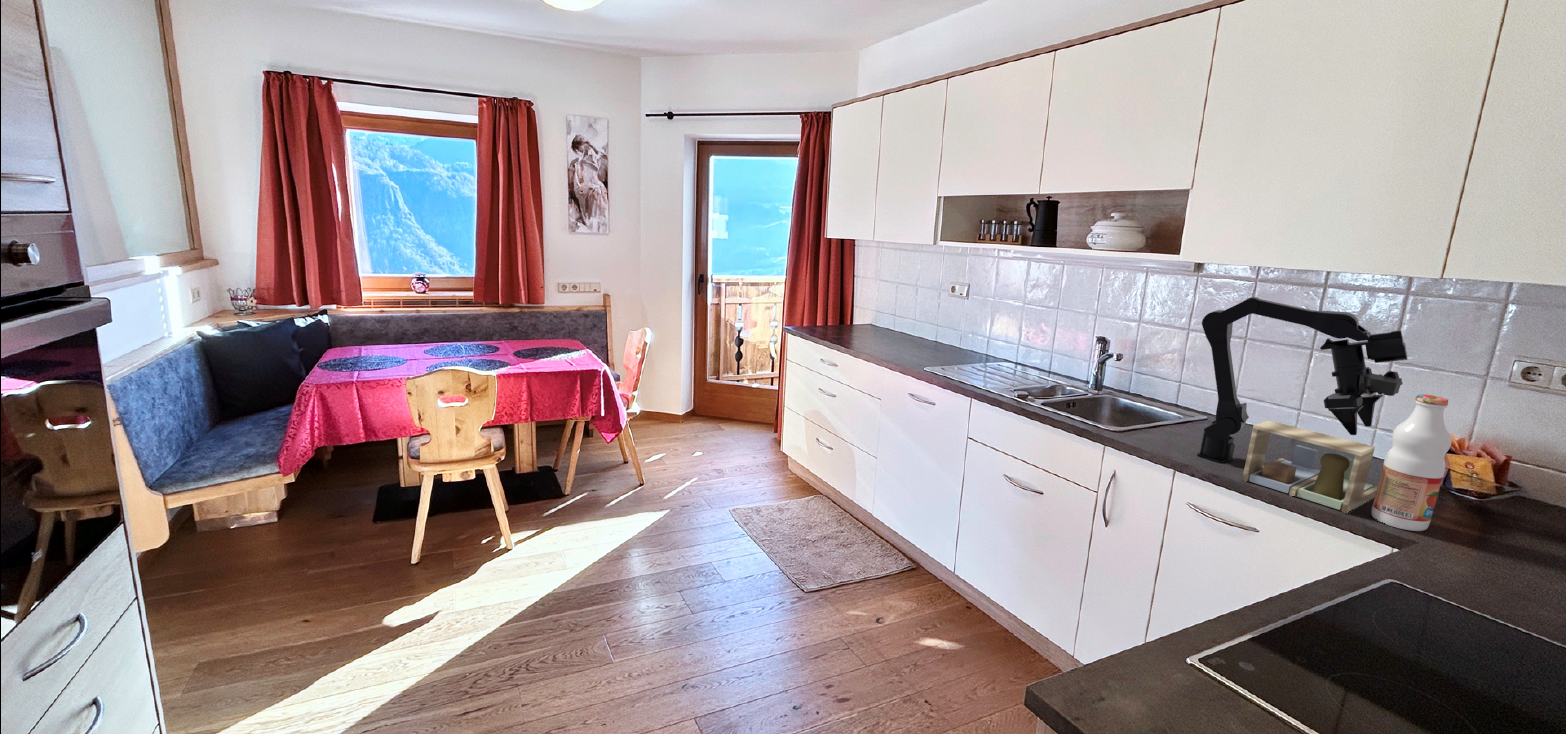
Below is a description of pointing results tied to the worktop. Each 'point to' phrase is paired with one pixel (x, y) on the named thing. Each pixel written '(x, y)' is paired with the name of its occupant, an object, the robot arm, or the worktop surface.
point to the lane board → (1361, 451)
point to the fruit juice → (1414, 467)
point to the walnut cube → (1279, 472)
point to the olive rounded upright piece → (1331, 476)
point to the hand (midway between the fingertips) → (1361, 430)
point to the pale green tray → (1321, 499)
